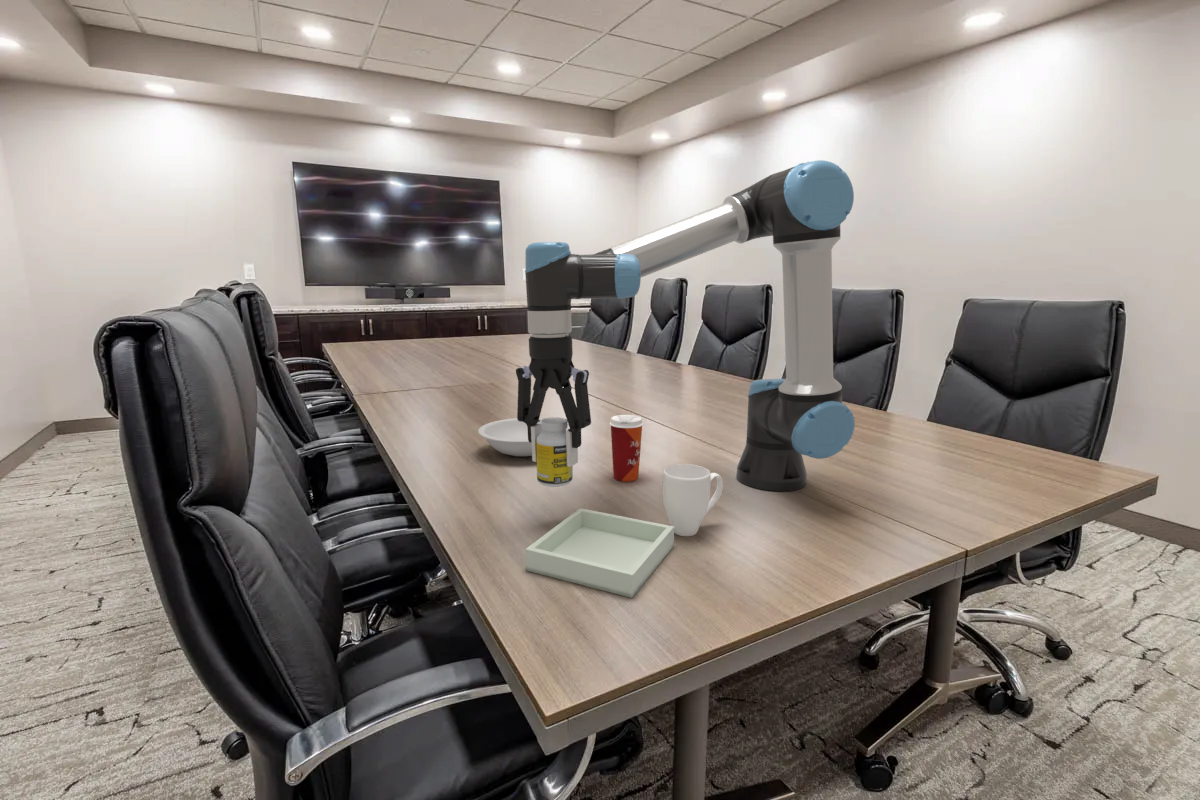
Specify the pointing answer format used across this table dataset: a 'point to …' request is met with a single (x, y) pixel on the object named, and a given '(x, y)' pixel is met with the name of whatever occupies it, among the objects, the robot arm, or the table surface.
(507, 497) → the table surface
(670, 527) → the tray
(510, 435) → the soup bowl
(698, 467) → the mug
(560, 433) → the pill bottle
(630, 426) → the paper cup
